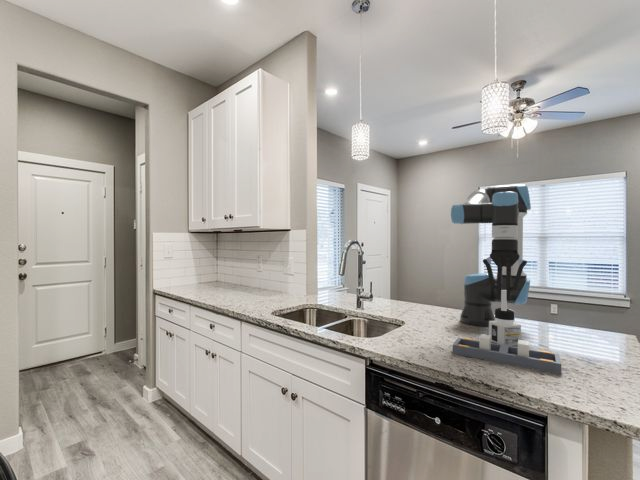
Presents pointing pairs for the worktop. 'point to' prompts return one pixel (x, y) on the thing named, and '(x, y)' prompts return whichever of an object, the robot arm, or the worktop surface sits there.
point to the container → (505, 328)
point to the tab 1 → (485, 342)
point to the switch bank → (509, 355)
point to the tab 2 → (523, 348)
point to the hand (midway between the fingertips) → (503, 310)
